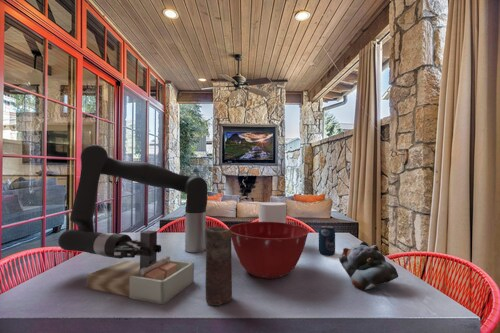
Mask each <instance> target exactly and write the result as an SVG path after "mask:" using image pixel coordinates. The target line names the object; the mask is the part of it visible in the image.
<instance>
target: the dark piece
mask: <svg viewBox="0 0 500 333" xmlns="http://www.w3.org/2000/svg"><path fill="white" fill-rule="evenodd" d="M139 234H140V236H139V237H140V238H139V241H140V247H141V248H142V247H143V248H152V249H153V255H152V256H143V255H141V256H139V262H140V269H139V273H141V277H144V278H145V275H146V274H147V273H149V272H151V271H153V270H155V269H157V268H158V269H159V267H161V266H163V265H165V264H167V263H169V262H170V260H171V258H170V257H171V256H170V255H167V256H164V257H162V258H160V259H158V260H157V253H158V252H157V245H158V242H157V241H158V230H157V231H156V230H150V229H148V230H144V231H142V232H140V233H139Z"/></svg>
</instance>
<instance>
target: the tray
mask: <svg viewBox="0 0 500 333" xmlns="http://www.w3.org/2000/svg"><path fill="white" fill-rule="evenodd" d="M170 263H173V264H177V269H176V273H174V274H172V275H171V276H169V277H168V278H166V279H164V280H163V281H162V280H156V279H150V278H144V277H138V276H130V296H128V297H129V299H133V300H137V301H143V302H147V303H153V304H158V305H165V304H166V303H167V302H168V301H170V300H171V299H173V297H175V296H176V295H178V294H180V293H181V292H182V291H183V290H184V289H186V288H187V287H188V286H190V285H191V284H192V283H194V281H195V276H194V275H195V272H194V271H195V270H194V269H195V265H194V264H195V263H194V262H188V261H183V260H176V259H175V260H174V259H170Z"/></svg>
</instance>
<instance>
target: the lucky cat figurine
mask: <svg viewBox="0 0 500 333" xmlns="http://www.w3.org/2000/svg"><path fill="white" fill-rule="evenodd" d="M342 250H343V251H342V253H341V255H340V256H338V260H339V263H340V264H341V266H342V267H343V269H344V270H345V272H346V274H347V275H348V276H349V278H350V280H351V283H352V286H354V288H355V289H358V290H360V291H363V292H364V291H367V290H369V289H373V288H375V287H377V286H380V285H384V284H387V283H389V282H391V281H394V280H395V279H397V278H398V277H399V273H398V271H397V268H396V267H395V266H394V264H392V263H391V262H388V261H387V260H386V258H385V256H384V255H383V253H382V252H381V251H380V249H379V246H378V245H376V244H374V245H369V244H368V243H367V242H365V241H361V242H360V244H356V245H354V246H352V247H351V248H349V247H348V248H347V247H345V248H343V249H342Z"/></svg>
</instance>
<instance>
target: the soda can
mask: <svg viewBox="0 0 500 333" xmlns="http://www.w3.org/2000/svg"><path fill="white" fill-rule="evenodd" d="M318 253H319V254H320V256H321V255H322V256H325V257H332V256H334V255H335V254H336V230H335V227H334V226H333V225H330V224H329V225H328V224H322V225H319V229H318Z"/></svg>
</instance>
